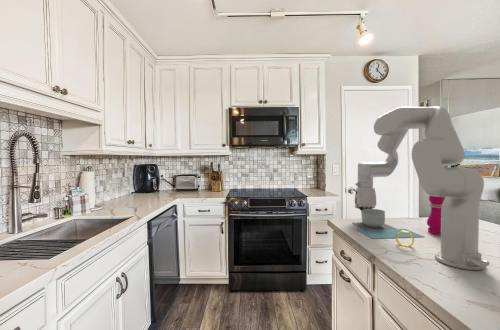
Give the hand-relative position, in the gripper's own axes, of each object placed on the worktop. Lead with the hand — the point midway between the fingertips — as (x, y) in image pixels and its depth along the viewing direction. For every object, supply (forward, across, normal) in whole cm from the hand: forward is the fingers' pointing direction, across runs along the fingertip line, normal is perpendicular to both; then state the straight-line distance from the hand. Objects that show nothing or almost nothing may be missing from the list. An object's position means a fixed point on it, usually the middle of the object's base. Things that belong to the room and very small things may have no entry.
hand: (364, 218), depth 133 cm
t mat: (+2, 0, -14) cm, 14 cm away
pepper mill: (+2, +22, -22) cm, 31 cm away
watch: (+2, -4, -36) cm, 36 cm away
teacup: (+2, 0, -8) cm, 8 cm away
